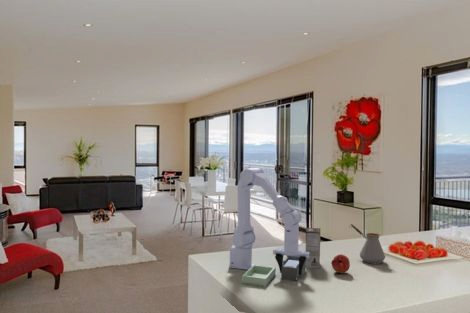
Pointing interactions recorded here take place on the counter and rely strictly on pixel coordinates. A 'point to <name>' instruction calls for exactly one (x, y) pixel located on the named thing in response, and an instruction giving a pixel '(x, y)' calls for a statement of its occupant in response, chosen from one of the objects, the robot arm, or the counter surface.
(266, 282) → the tray
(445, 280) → the counter surface
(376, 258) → the coffee pot
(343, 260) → the fruit
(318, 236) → the coffee box
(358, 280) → the counter surface
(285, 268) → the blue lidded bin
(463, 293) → the counter surface
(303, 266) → the printer bay
